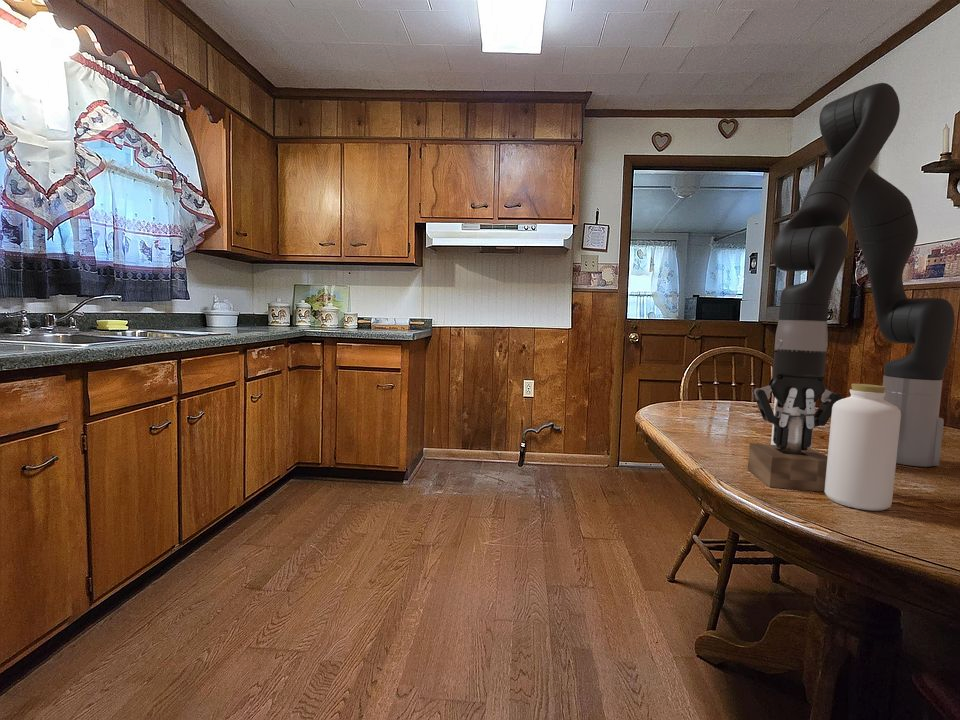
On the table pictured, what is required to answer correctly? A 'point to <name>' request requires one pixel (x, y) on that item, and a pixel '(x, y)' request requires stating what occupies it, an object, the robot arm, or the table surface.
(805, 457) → the walnut block
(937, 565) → the table surface
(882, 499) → the potion bottle
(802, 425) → the peg
